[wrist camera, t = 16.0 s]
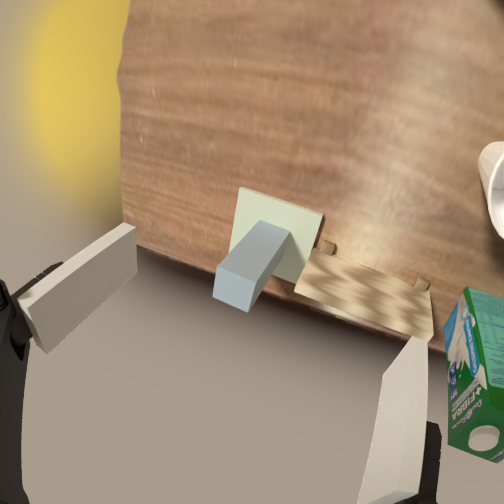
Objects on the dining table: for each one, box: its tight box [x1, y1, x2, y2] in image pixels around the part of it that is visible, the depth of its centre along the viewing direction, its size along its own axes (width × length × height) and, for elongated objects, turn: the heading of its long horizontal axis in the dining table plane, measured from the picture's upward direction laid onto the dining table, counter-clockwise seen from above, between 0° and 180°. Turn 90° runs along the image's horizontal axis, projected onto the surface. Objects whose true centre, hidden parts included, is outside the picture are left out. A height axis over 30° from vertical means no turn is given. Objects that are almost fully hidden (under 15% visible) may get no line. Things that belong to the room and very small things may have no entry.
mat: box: [229, 187, 323, 284], centre depth 50 cm, size 13×13×1 cm
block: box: [213, 220, 290, 312], centre depth 44 cm, size 5×5×14 cm
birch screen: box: [294, 240, 434, 342], centre depth 43 cm, size 20×5×10 cm, turn 79°
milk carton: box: [444, 287, 504, 463], centre depth 32 cm, size 9×9×25 cm
